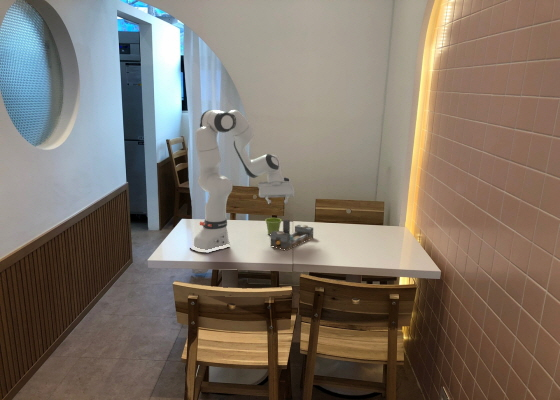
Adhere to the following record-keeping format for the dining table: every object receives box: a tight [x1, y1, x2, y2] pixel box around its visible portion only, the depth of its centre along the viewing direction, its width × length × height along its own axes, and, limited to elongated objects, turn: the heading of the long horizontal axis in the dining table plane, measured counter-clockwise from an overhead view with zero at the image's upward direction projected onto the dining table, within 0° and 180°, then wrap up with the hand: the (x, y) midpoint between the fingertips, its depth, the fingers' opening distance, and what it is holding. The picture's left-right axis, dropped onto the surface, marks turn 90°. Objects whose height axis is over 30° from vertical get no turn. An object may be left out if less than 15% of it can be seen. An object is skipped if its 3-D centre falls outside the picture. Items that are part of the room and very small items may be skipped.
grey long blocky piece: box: [270, 224, 314, 251], centre depth 253 cm, size 27×10×9 cm, turn 144°
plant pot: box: [265, 217, 283, 235], centre depth 266 cm, size 9×9×9 cm
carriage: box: [282, 219, 293, 241], centre depth 247 cm, size 6×5×12 cm
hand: (277, 203), depth 257 cm, fingers open, 8 cm apart
